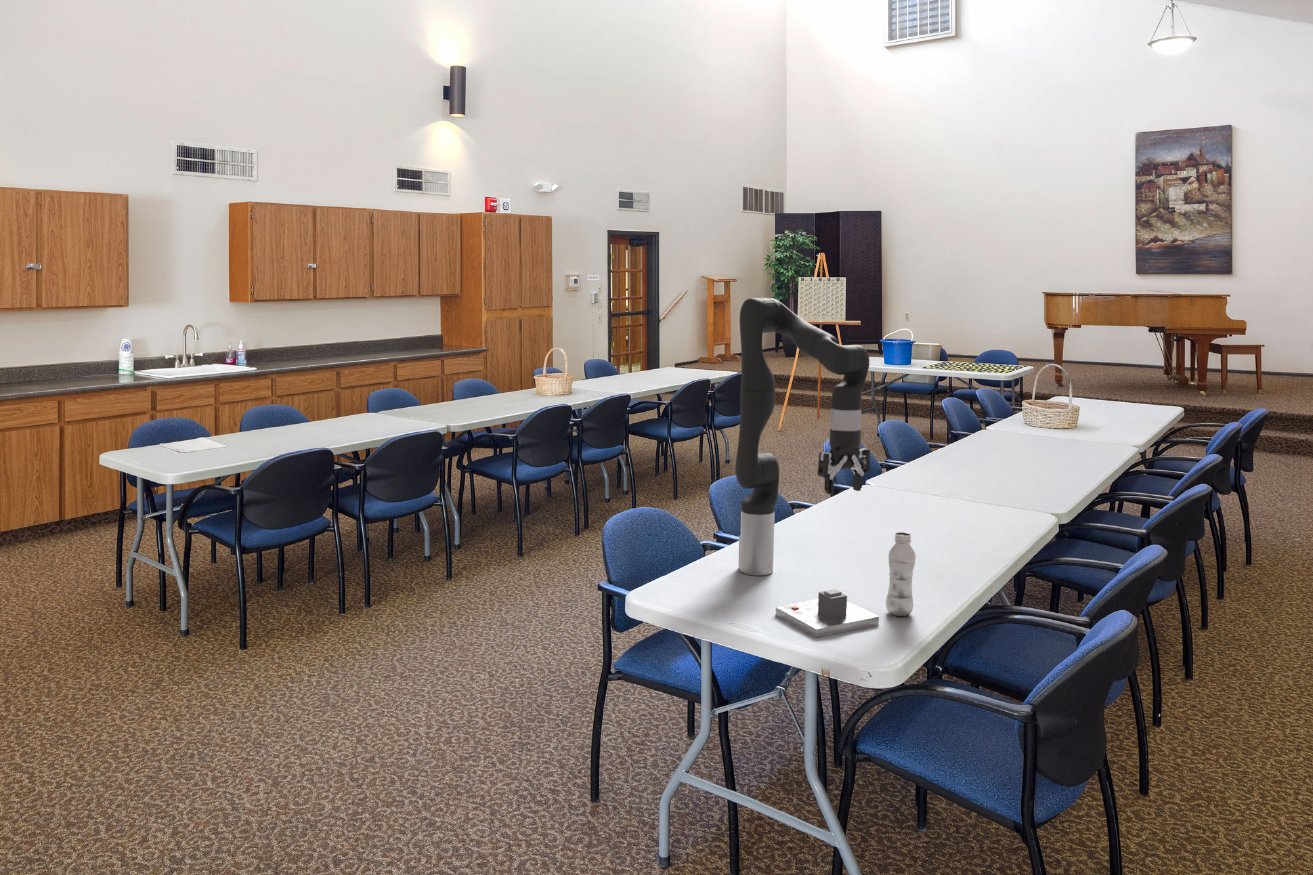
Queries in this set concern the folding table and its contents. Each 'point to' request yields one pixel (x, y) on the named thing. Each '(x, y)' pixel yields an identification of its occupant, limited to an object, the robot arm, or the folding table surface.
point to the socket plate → (825, 618)
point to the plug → (832, 604)
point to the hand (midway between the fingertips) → (843, 492)
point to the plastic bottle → (901, 576)
